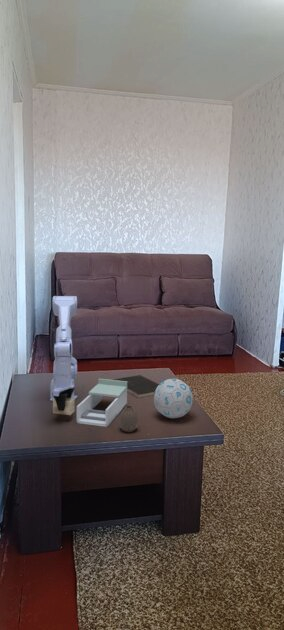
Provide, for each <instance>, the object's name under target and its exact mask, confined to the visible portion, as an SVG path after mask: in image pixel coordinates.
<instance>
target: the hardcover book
mask: <svg viewBox="0 0 284 630" xmlns="http://www.w3.org/2000/svg"><path fill="white" fill-rule="evenodd" d="M112 380H118V381H127V393H130V394H132V395H133V396H135V397H137V398H142V397H143V398H144V397H149V396H154V394H155V390H156V388H157V387H158V385H159V384H160V383H158V382H155V381H153V380H151V379H149V378H147V377H145V376H143V375H142V374H139V375H133V376H132V375H131V376H125V377H119V378H113V379H112Z"/></svg>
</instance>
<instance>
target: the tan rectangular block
mask: <svg viewBox="0 0 284 630" xmlns="http://www.w3.org/2000/svg"><path fill="white" fill-rule="evenodd" d="M75 400H76V399H73V398H66V402H65V409H64V411H59V410H58V407H57V404H56V401H55V399H54V400H53V401H52V414H58V415H66V416H71V415H72V414H73V413H74V412H75V411H76V410H75V409H76V408H75V407H76V406H75V403H76V402H75Z"/></svg>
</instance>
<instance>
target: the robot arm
mask: <svg viewBox="0 0 284 630" xmlns="http://www.w3.org/2000/svg"><path fill="white" fill-rule="evenodd" d="M51 301H52V304H51V305H52V312H53V314H54V316H56V317H58V322H59V326H58V327H57V328H56V329H55V330H56V331H55V332H56V333H55V343H54V345H53V353H54V354H53V355H54V361H53V369H52V371H53V372H52V375H53V378H52V379H51V381H50V384H49V385H50V386H49V387H50V395H49V396H50V398H49V401H50V402H51V401H52V402H53V400H54V399H55V401H56V404H57V407H58V410H59V411H64V409H65V402H66V398H73V399H75V400H76V399H77V398H78V395H75V379H76V378H77V377H78V360H77V359H76V358H75V357H74V356H73V341H72V328H71V320H72V318H73V317H74V316H76V315H77V311H78V297H77V296H76V295H59V296H58V295H54V296H53V297H52V300H51Z"/></svg>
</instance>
